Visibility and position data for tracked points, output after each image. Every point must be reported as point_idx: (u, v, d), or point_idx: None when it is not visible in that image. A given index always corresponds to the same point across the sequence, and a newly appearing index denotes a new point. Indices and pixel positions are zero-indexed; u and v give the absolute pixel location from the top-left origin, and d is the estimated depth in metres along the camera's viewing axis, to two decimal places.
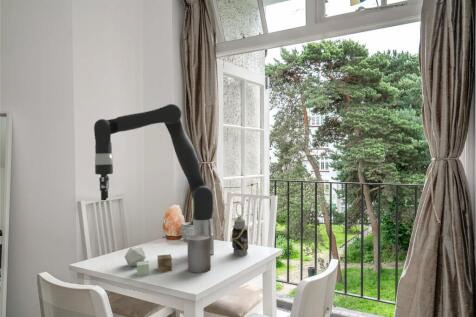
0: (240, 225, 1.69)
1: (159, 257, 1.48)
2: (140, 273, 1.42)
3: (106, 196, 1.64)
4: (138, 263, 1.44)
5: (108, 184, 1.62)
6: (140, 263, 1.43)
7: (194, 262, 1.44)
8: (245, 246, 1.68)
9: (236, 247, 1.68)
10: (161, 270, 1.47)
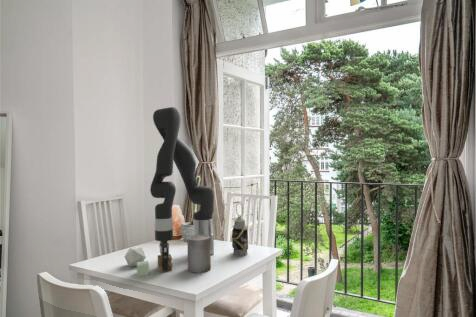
0: (240, 225, 1.69)
1: (159, 257, 1.48)
2: (140, 273, 1.42)
3: None
4: (138, 263, 1.44)
5: None
6: (140, 263, 1.43)
7: (194, 262, 1.44)
8: (245, 246, 1.68)
9: (236, 247, 1.68)
10: (161, 270, 1.46)
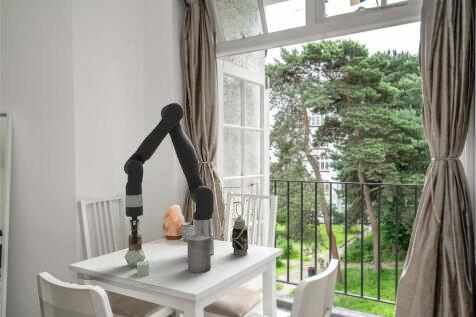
0: (240, 225, 1.69)
1: (129, 236, 1.55)
2: (140, 273, 1.42)
3: None
4: (138, 263, 1.44)
5: None
6: (140, 263, 1.43)
7: (194, 262, 1.44)
8: (245, 246, 1.68)
9: (236, 247, 1.68)
10: (131, 248, 1.53)
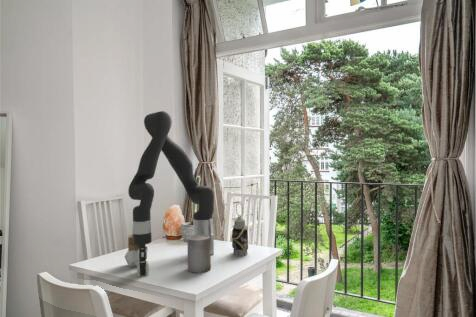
0: (240, 225, 1.69)
1: (129, 236, 1.55)
2: None
3: None
4: (138, 262, 1.44)
5: None
6: None
7: (194, 262, 1.44)
8: (245, 246, 1.68)
9: (236, 247, 1.68)
10: (131, 248, 1.53)
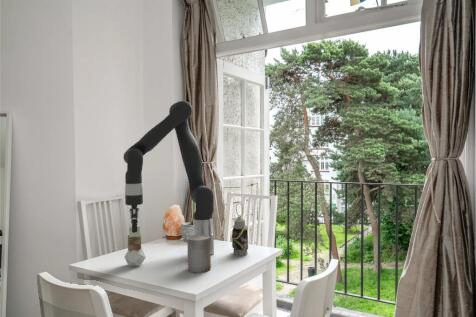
0: (240, 225, 1.69)
1: None
2: (131, 234, 1.53)
3: None
4: (130, 225, 1.56)
5: None
6: None
7: (194, 262, 1.44)
8: (245, 246, 1.68)
9: (236, 247, 1.68)
10: (130, 248, 1.53)
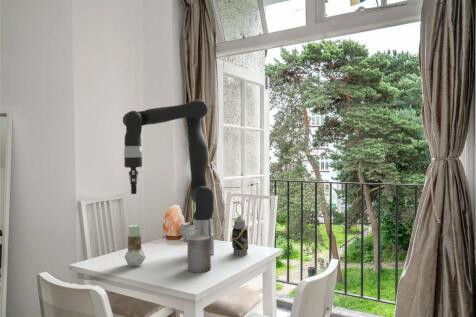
0: (240, 225, 1.69)
1: None
2: (131, 234, 1.53)
3: None
4: (129, 225, 1.56)
5: None
6: (132, 226, 1.55)
7: (194, 262, 1.44)
8: (245, 246, 1.68)
9: (236, 247, 1.68)
10: (130, 248, 1.53)
